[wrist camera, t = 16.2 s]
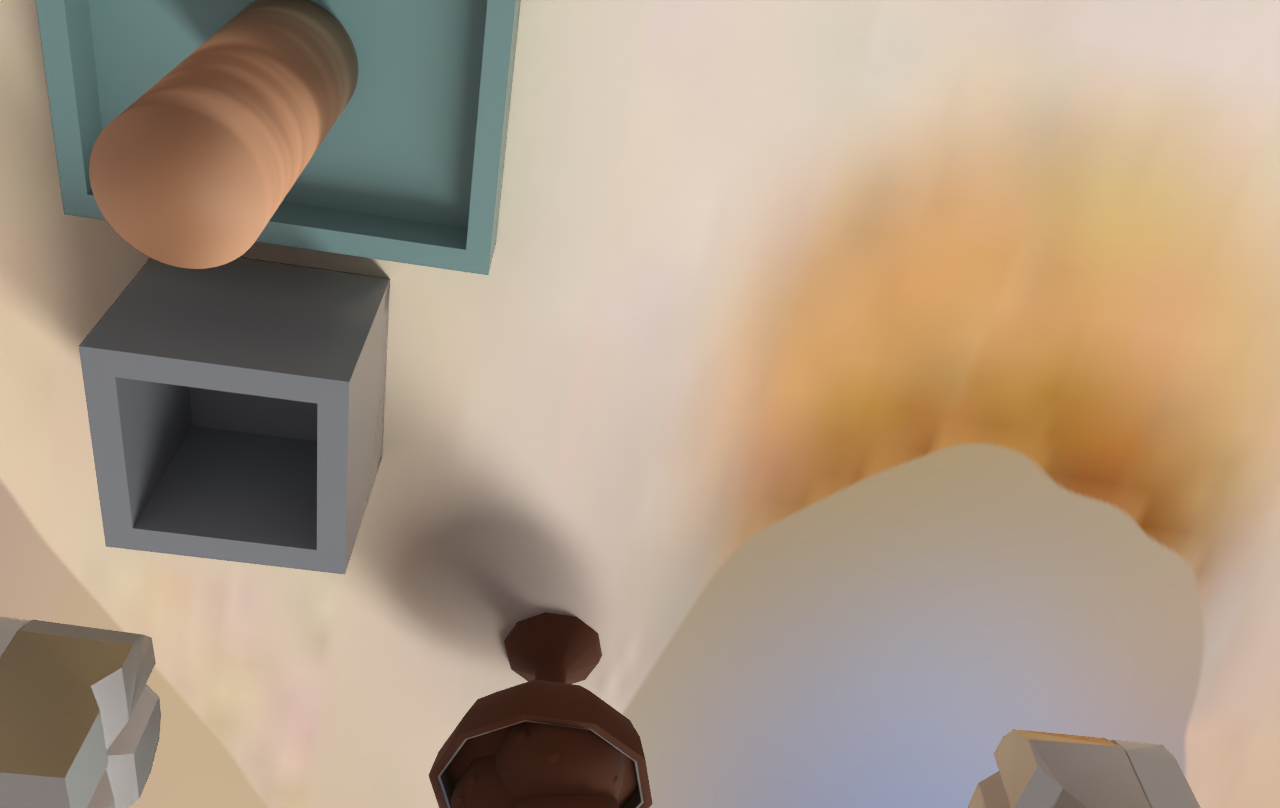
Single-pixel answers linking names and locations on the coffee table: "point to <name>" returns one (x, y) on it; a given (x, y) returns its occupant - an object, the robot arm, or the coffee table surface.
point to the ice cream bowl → (544, 733)
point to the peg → (224, 134)
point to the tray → (359, 139)
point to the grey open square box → (239, 411)
